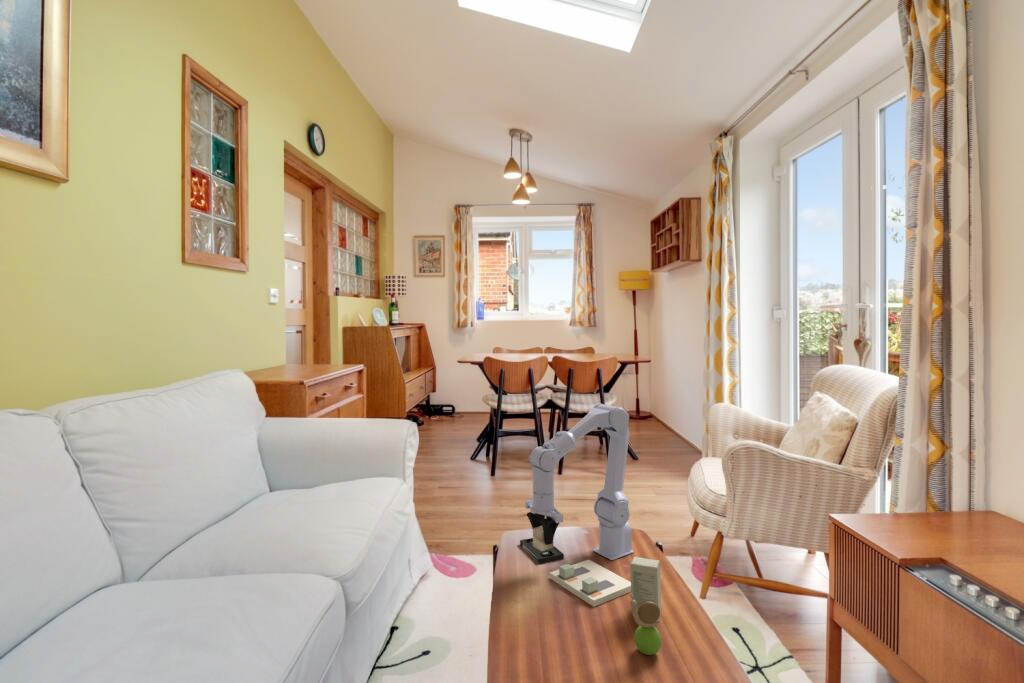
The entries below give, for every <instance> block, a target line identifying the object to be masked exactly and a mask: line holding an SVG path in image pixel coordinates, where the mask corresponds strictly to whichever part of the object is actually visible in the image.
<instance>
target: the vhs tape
mask: <svg viewBox="0 0 1024 683" xmlns="http://www.w3.org/2000/svg"><path fill="white" fill-rule="evenodd" d="M519 546H520V547H521V548H523V550H524V551H525V552H526V553H527V554H529V556H530V557H531V558H533V560H535V562H536V563H537V564H538V565H541V564H546V563H553V562H557V561H563V560H564V559H565V556H564V552H562V551H561V550H560V549H558V548H557V547H556V546H555V545H554V544H553V548H551V549H548V550H544V551H540V550H539V549H537V548H535V547H534V546H533V537H531V538H524V539H520V540H519ZM550 552H551V553H550Z"/></svg>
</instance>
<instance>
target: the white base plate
mask: <svg viewBox="0 0 1024 683" xmlns="http://www.w3.org/2000/svg"><path fill="white" fill-rule="evenodd" d="M570 565H571V564H570ZM571 566H573V567H574V576H571V577H569V578H566V579H565V578H563V577H561V576H560V575H559V569H556V570H555V571H551V572H549V579H550V580H551V581H553V582H555V583H556V584H558V585H559V586H561V587H562V588H564V589H565V590H567V591H569V592H570V593H572V594H573V595H575V596H576V597H578V598H580V599H581V600H583V601H584V602H585V603H587V604H589V605H590V606H591V607H594V608H595V607H597V606H600V605H602V604H604V603H607V602H609V601H612V600H613V599H616V598H619V597H621V596H623V595H626V594H628V593H631V580H627V579H626V578H624V577H622V576H620V575H618V574H616V573H615V572H614V571H611V570H609V569H607V568H605V567H604V566H602V565H600V564H598V563H596V562H594V561H592V560H591V559H586V560H583V561H580V562H577V563H575V564H572V565H571ZM590 577H592V578H594V579H596V580H597V581H598V590H597V591H594V592H592V593H587V592H586V591H584V590H582V580H584V579H587V578H590Z"/></svg>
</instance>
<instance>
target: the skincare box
mask: <svg viewBox="0 0 1024 683" xmlns="http://www.w3.org/2000/svg"><path fill="white" fill-rule="evenodd" d="M629 564H630V565H629V566H630V567H629V568H630V582H631V592H630V594H632V596H633V598H631V597H630V601H631V600H635V601H636V602H637V611H638V609H639V607H640V606H641V604H643V603H644V602H648V601H650V602H654V603H655V604H657V605H658V607H659V609H660V617H659V619H658V620H660V618H661V615H662V590H661V589H662V588H661V587H662V586H661V561H660V560H658V559H653V558H648V557H647V558H646V557H639V556H633V558H632V560H631V561H630V563H629ZM631 615H632V616H633V614H632V613H631Z"/></svg>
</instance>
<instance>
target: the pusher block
mask: <svg viewBox="0 0 1024 683" xmlns="http://www.w3.org/2000/svg"><path fill="white" fill-rule="evenodd" d="M532 538H533V546H534V547H535V548H537V549H539V550H540V551H544V550H548V549H551V548H553V545H554V541H553V542H552V544H549V545H545V542H544V532H543V527H542V526H539V527H535V528H533V529H532Z"/></svg>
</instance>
